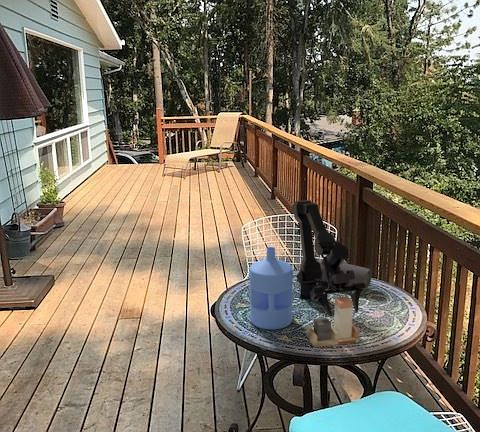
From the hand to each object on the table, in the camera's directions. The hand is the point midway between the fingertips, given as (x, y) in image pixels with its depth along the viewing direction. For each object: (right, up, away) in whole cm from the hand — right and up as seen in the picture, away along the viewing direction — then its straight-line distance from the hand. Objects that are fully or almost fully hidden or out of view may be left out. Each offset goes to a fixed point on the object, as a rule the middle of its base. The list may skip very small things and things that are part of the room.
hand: (344, 314), depth 165 cm
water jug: (-23, -5, +16) cm, 29 cm away
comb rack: (-3, -9, +2) cm, 10 cm away
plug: (0, -7, +3) cm, 8 cm away
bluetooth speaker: (+8, +3, +44) cm, 45 cm away
